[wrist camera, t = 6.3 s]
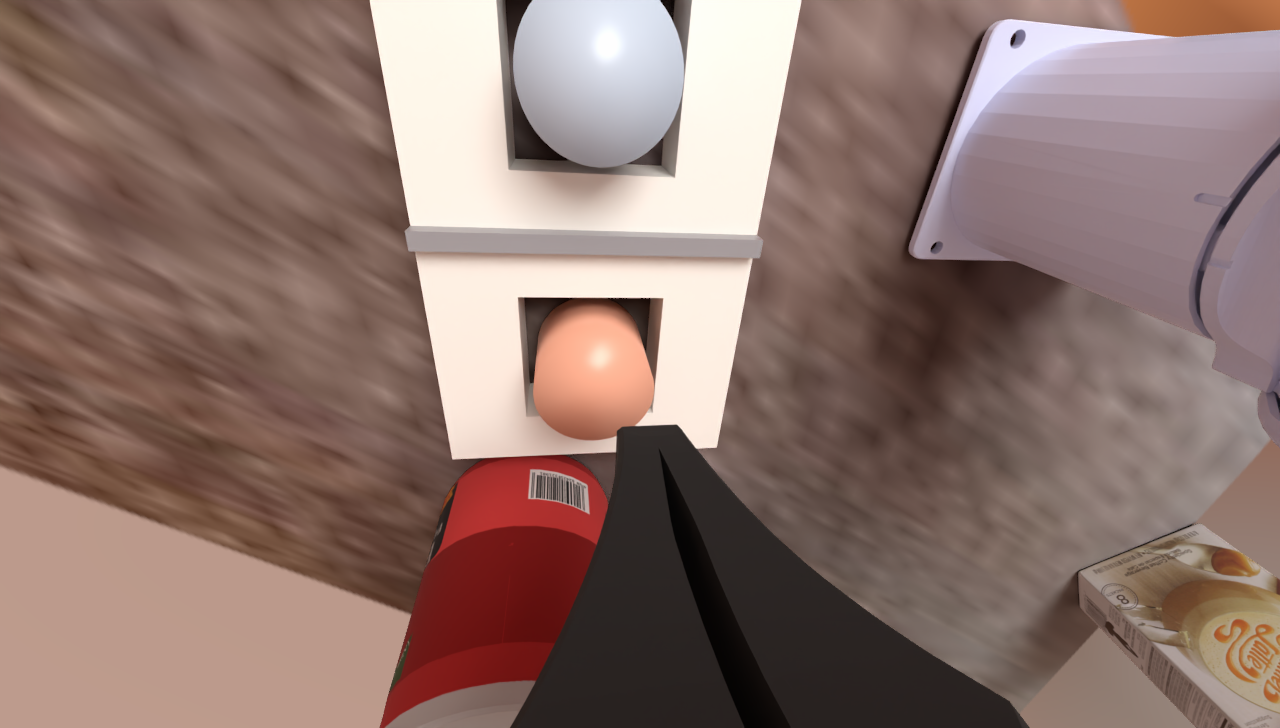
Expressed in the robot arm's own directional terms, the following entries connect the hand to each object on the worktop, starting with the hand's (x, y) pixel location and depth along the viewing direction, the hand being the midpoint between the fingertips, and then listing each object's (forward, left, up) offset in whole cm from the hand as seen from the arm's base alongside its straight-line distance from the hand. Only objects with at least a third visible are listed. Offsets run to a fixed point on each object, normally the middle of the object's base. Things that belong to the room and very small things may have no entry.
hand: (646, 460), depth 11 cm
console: (+1, -3, -10) cm, 10 cm away
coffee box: (-41, +22, -10) cm, 48 cm away
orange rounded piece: (+1, +2, -9) cm, 9 cm away
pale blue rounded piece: (+1, -7, -9) cm, 11 cm away
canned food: (+4, +11, -10) cm, 16 cm away
